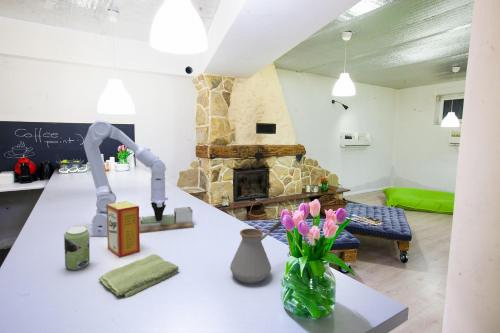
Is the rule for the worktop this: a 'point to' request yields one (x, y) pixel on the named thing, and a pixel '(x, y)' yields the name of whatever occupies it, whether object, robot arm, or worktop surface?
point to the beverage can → (76, 247)
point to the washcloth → (138, 275)
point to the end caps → (180, 217)
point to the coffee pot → (251, 257)
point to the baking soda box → (123, 228)
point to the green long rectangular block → (165, 221)
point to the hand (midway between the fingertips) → (158, 219)
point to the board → (166, 227)
